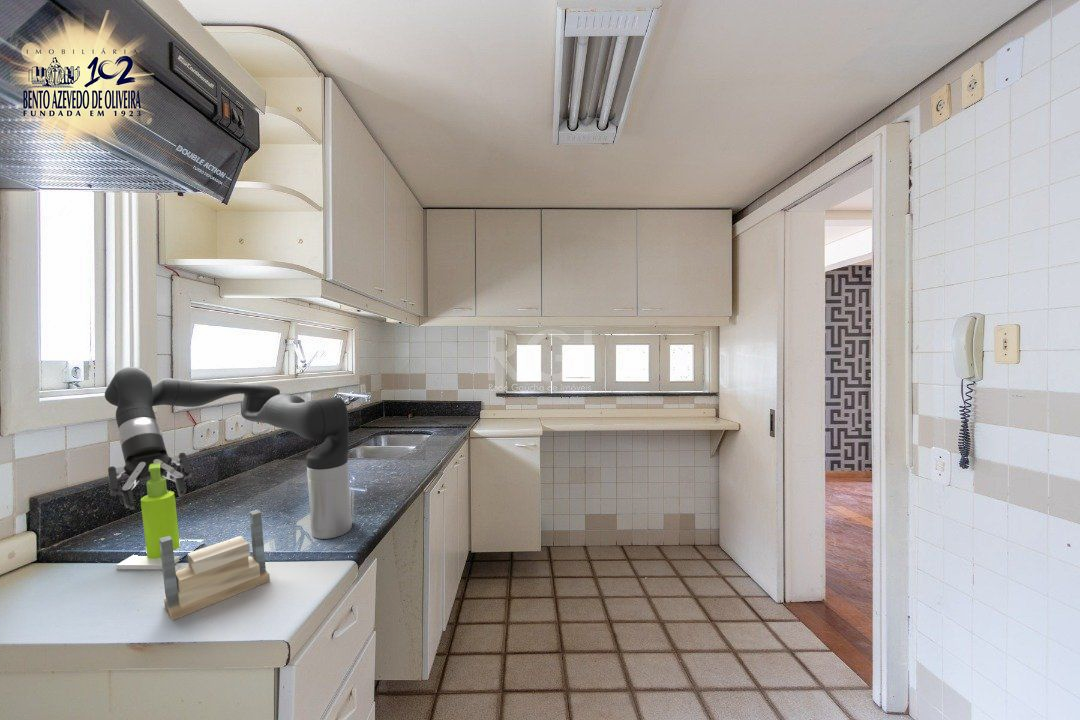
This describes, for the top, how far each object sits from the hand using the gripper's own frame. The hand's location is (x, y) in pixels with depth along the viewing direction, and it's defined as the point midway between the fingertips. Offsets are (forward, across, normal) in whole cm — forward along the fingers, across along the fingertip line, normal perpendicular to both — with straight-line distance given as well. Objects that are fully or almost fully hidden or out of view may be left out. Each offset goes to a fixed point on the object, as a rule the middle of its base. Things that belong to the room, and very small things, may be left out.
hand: (157, 501), depth 104 cm
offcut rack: (+27, -4, +8) cm, 29 cm away
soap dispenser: (+8, 0, -10) cm, 12 cm away
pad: (+8, 0, -10) cm, 13 cm away
